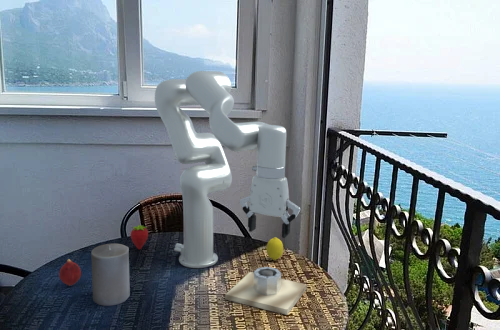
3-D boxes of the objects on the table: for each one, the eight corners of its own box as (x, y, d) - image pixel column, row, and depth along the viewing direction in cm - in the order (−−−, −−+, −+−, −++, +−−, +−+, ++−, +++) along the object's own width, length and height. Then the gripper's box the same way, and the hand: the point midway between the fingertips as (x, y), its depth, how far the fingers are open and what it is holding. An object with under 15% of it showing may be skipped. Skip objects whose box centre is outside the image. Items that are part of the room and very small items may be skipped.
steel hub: (250, 291, 126) (250, 274, 125) (260, 281, 133) (260, 265, 132) (273, 297, 124) (274, 280, 123) (283, 286, 130) (283, 270, 129)
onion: (86, 283, 132) (84, 257, 131) (70, 292, 127) (69, 265, 126) (71, 279, 135) (69, 253, 133) (55, 287, 130) (53, 261, 128)
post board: (225, 299, 125) (225, 277, 124) (249, 276, 139) (250, 256, 138) (287, 314, 118) (288, 291, 116) (306, 289, 132) (307, 268, 131)
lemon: (281, 264, 149) (282, 241, 147) (264, 262, 150) (265, 239, 148) (283, 257, 154) (284, 235, 152) (267, 256, 155) (268, 233, 153)
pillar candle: (88, 294, 126) (85, 243, 123) (122, 285, 132) (120, 236, 128) (100, 310, 118) (98, 255, 115) (136, 299, 124) (134, 247, 121)
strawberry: (148, 244, 163) (148, 217, 161) (148, 253, 155) (147, 224, 153) (131, 245, 162) (130, 218, 160) (130, 253, 154) (129, 225, 152)
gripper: (235, 171, 122) (233, 232, 125) (296, 179, 115) (293, 243, 118) (247, 166, 128) (245, 224, 132) (306, 173, 121) (303, 234, 125)
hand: (268, 233), depth 125 cm, fingers open, 9 cm apart
